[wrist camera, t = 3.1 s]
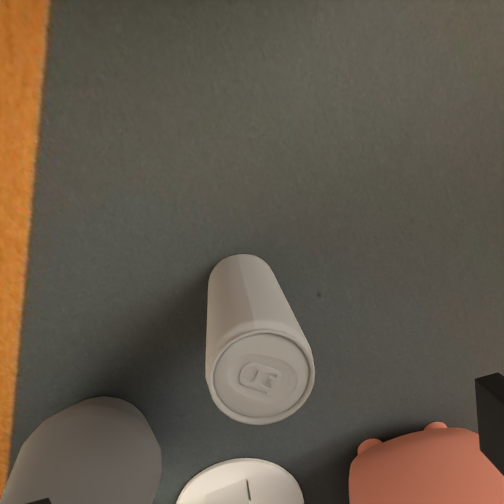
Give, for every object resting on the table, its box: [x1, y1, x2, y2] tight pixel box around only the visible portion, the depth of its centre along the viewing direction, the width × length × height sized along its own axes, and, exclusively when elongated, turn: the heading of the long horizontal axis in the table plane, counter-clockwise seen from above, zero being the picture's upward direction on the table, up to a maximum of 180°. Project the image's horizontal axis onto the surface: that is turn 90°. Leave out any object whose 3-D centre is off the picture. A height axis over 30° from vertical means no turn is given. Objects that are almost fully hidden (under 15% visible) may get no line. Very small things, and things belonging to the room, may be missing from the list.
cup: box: [0, 396, 162, 504], centre depth 24 cm, size 10×9×10 cm
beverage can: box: [206, 254, 315, 425], centre depth 21 cm, size 5×5×12 cm
